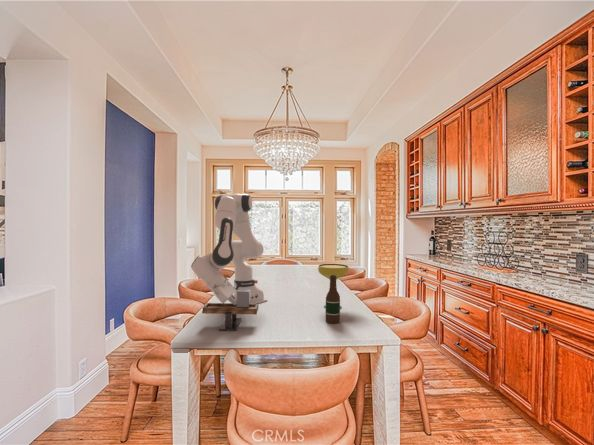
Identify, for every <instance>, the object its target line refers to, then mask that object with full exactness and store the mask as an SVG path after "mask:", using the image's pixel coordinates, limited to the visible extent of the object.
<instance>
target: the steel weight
mask: <svg viewBox="0 0 594 445" xmlns="http://www.w3.org/2000/svg"><path fill="white" fill-rule="evenodd" d="M250 299H251V290H244V289H239V290H238V291H237V308H250Z"/></svg>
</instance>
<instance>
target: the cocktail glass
mask: <svg viewBox="0 0 594 445" xmlns="http://www.w3.org/2000/svg"><path fill="white" fill-rule="evenodd" d="M317 270H318V273H319V274H320V275H322V276H323V277H325V278H327V279H328V280H330V275H336V277H337V278H336V281H337V280H339V279H340V278H343V277H344V276H345V277H346V275H347V274H348V273H349V266H348V265H346V264H341V263H340V264H339V263H324V264H323V263H322V264H319V265H318V267H317ZM342 307H343V306H341V305H340V310H341V309H342ZM323 308H325V309H326V304H325V305H323Z"/></svg>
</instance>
